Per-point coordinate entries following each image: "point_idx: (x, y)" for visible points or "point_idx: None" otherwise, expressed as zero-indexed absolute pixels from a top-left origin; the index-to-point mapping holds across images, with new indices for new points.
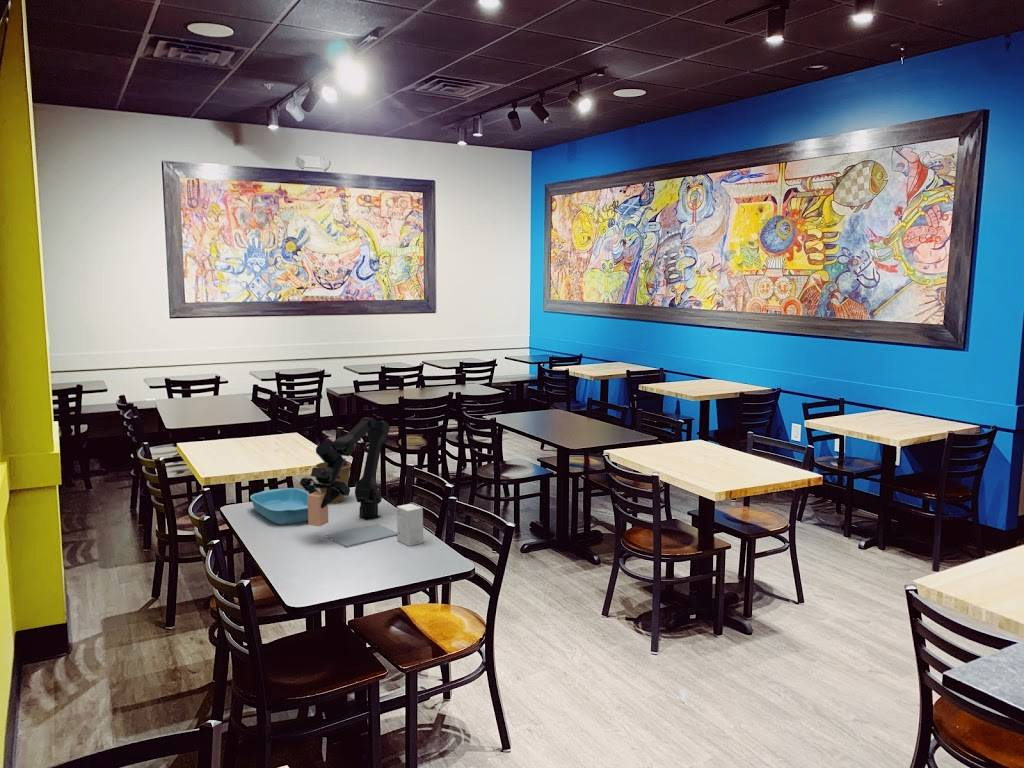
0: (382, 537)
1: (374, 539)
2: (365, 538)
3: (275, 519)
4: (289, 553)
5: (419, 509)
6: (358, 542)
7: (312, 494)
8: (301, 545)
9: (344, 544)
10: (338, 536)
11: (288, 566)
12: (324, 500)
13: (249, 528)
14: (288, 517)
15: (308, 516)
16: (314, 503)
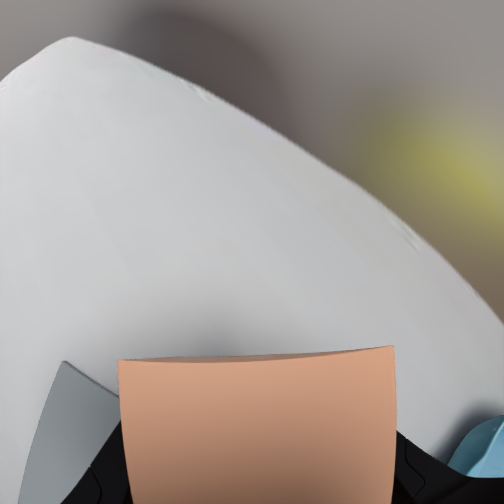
0: (22, 483)
1: (27, 460)
2: (57, 465)
3: (486, 421)
4: (239, 211)
5: None
6: (47, 415)
7: (345, 431)
8: (261, 312)
9: (77, 375)
10: None
11: (161, 121)
12: (115, 443)
13: (501, 353)
14: (464, 454)
15: (283, 354)
16: (226, 359)
